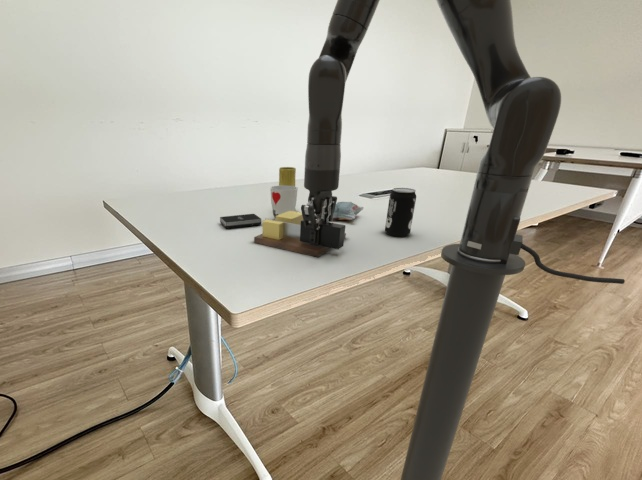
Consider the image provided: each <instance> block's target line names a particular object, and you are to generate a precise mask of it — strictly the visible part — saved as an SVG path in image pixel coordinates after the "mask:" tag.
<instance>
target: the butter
mask: <svg viewBox="0 0 642 480" xmlns="http://www.w3.org/2000/svg"><path fill="white" fill-rule="evenodd" d="M276 220H277V221H282V222H287V223H293V224H298V225H301V221H302V220H303V216H302V212H301V211H300V212H299V211H296V212H294V211H288V212H285V213H282V214H280V215H277V216H276Z"/></svg>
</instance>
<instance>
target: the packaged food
mask: <svg viewBox="0 0 642 480" xmlns="http://www.w3.org/2000/svg"><path fill="white" fill-rule="evenodd" d="M363 210H364V206H359V205H358V204H356V203H354V202H352V201H338V202H336V206H335V210H334V214H333V218H332V219H333V220H336V221H353V220H355V219H356V216H357V215H358V214H360V212H361V211H363Z"/></svg>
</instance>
